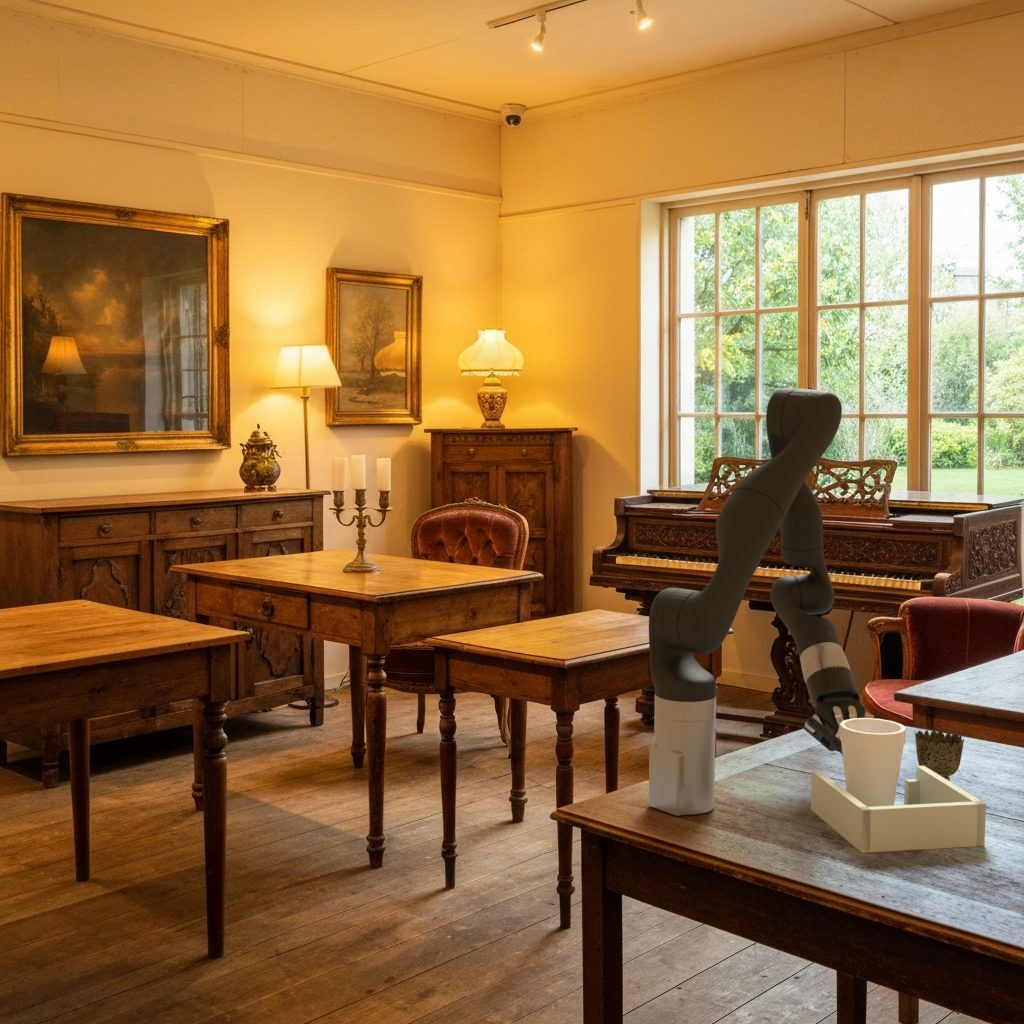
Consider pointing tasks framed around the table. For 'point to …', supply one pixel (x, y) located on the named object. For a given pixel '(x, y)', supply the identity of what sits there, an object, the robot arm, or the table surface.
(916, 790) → the walled box
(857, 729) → the foam cup
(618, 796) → the table surface
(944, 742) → the cup
